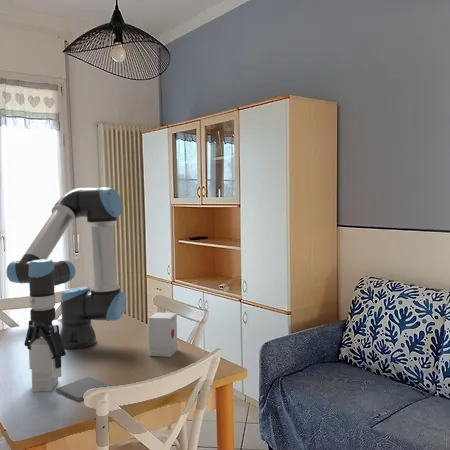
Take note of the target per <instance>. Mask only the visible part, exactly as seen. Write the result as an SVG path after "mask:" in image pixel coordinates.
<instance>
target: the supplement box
mask: <svg viewBox="0 0 450 450" xmlns="http://www.w3.org/2000/svg"><path fill="white" fill-rule="evenodd" d="M177 317H178V314H177V313H176V312H155V313H153V314H152V315H150V316H149V317H148V356H149V357H164V358H165V357H168V358H172V356H173V355H174V354H175V353H176V352H177V351H178V318H177Z"/></svg>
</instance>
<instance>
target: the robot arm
mask: <svg viewBox="0 0 450 450" xmlns="http://www.w3.org/2000/svg"><path fill="white" fill-rule="evenodd" d="M122 210H123V204H122V199H121V196H120V194H119V193H118V191H117V189H114V188H113V187H105V186H103V187H80V188H79V187H77V188H75V189H72V190H70V191H69V192H66V194H64V195H63V196H62V197H61V198H60V199H58V201H57V202H56V203H55V204H54V205H53V207H52V208H51V215H49V218H48V220H47V221H46V222H45V223H44V225H43V226H42V227H41V229H40V231H39V232H38V233H37V235H36V237H35V238H34V239H33V241H32V243H31V244H30V246H29V247H28V248H27V250H26V251H25V253H24V255H23V256H21V258H20V260H13V261H12V262H9V264H8V265H7V266H6V276H7V277H6V278H7V279H8V280H9V281H10V282H11V283H16V284H28V285H29V287H28V288H29V301H28V302H29V308H30V312H29V313H30V314H29V315H30V317H29V318H30V319H29V320H28V327H27V331H26V335H25V340H24V344H23V345H24V346H25V347H27V350H28V361H29V370H32V365H31V344H32V343H33V342H34V341H35V340H36V339H37V338H39V337H42V338H44V340H46V341H47V344H48V345H49V348H50V350H51V353H52V355H53V357H52V377H53V379H55V378H58V379H59V378H60V377H62V357H65V356H66V355H67V353H66V351H65V349H69V350H74V349H75V350H76V349H82V348H83V349H84V348H87V347H90V346H92V345H95V344H96V342H97V335H96V333H95V330H94V327H93V325H92V321H94V320H95V321H107V322H109V321H118V320H120V319H121V318H122V316H123V315H124V313H125V309H126V308H127V307H126V306H127V295H126V293H125V292H124V291H121V286H120V285H119V284H118V283H117V277H116V276H117V273H116V254H115V253H116V252H115V237H114V236H115V230H114V225H115V223H117V221H118V217H119V216H120V215H122ZM81 217H83V218H86V220H87V221H86V222H87V223H88V224H89V225H90V227H91V243H92V261H93V263H92V265H93V277H94V278H93V280H94V281H93V282H94V285H92V286H91V288H90V286H80V287H75V288H70V289H67V290H64V291H63V292H61V295H60V308H61V309H60V310H61V330H60V326H59V325H58V324H56V325H53V321H54V320H56V307H55V306H56V295H55V286H59V285H62V284H66V283H67V282H70V281H72V280H73V279H74V278H75V275H76V268H75V265H74V263H72V262H71V261H69V260H59V261H53V260H52V259H49V257H50V256H51V253H52V252H53V251H54V249H55V248H56V246H57V244H58V243H59V241H60V240H61V238H62V236H63V235H64V234H65V232H66V230H67V229H68V227H69V225H71V224H74V222H75V221H76V219H79V218H81Z"/></svg>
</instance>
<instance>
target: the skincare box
mask: <svg viewBox="0 0 450 450" xmlns="http://www.w3.org/2000/svg"><path fill="white" fill-rule="evenodd" d="M52 357H53V355H52V353H51V350H50V348H49V345H48V344H47V341H46V340H44V338H42V337H39V338H37V339H36V340H35V341H34V342H33V343H32V344H31V365H32V369H31V391H32V393H40V391H46V392H52V391H54V389H55V387H56V385H58V382H59V377H58V378H55V379H53V377H52Z"/></svg>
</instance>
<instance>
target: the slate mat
mask: <svg viewBox="0 0 450 450" xmlns="http://www.w3.org/2000/svg"><path fill="white" fill-rule="evenodd" d="M107 386H111V387H112V385H111V384H108V383H106V382H104V381H101V380H98V379H96V378H94V377H90V376H87V377H84V378H81V379H78V380H75V381H73V382H71V383H68V384H65V385H64V384H63V386H62V385H61V386H60V387H56V390H55V391H56V392H57V391H58V392H57V393H59V392H60V393H59V394H61V393H62V395H63V394H64V396H66V395H67V396H66V397H68V398H70V397H71V399H73V400H75V401H77V400H78V401H77V402H81V401H83V400H84V399H83V395H84V393H85V392H86V391H87V390H89V389H92V388H99V387H107ZM80 400H81V401H80Z"/></svg>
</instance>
